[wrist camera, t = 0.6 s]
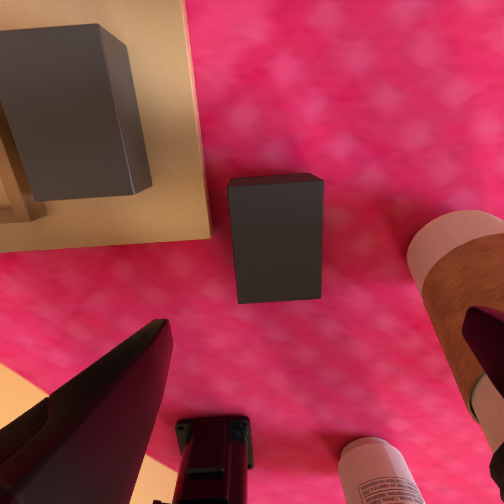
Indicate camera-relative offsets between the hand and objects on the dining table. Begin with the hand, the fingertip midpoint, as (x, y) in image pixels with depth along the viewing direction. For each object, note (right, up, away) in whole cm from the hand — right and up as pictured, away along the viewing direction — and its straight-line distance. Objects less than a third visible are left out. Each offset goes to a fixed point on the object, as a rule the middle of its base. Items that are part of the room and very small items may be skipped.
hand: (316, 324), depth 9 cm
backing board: (-14, +9, +8) cm, 19 cm away
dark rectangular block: (-1, +4, +11) cm, 11 cm away
